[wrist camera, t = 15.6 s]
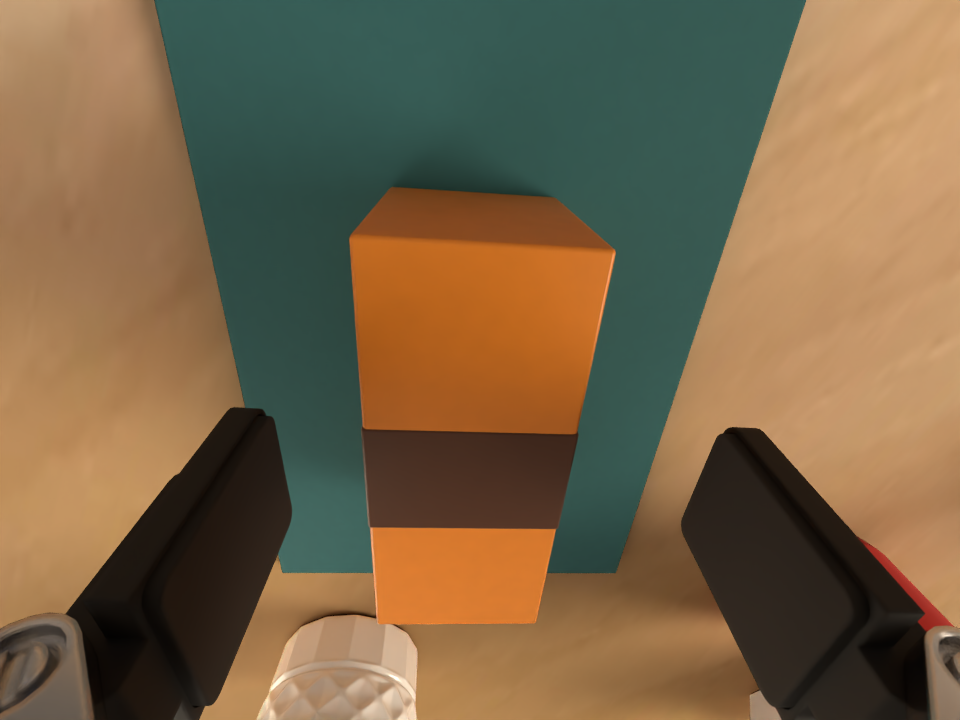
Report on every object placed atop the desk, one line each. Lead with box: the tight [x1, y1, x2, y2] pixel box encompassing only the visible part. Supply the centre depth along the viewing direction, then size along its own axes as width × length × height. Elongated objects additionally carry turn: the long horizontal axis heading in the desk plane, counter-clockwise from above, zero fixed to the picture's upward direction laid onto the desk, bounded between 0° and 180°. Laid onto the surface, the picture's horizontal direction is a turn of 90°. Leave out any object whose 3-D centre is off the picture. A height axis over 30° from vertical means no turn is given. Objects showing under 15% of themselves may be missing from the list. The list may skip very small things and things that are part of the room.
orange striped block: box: [349, 187, 616, 624], centre depth 13 cm, size 11×5×5 cm, turn 176°
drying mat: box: [154, 0, 806, 573], centre depth 15 cm, size 22×15×1 cm
